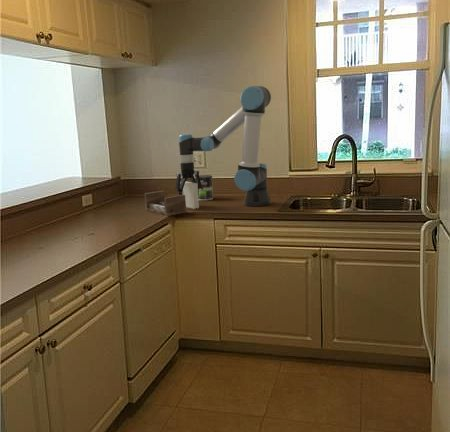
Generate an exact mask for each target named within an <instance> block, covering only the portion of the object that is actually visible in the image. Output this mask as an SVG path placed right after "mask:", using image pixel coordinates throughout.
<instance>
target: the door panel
mask: <svg viewBox="0 0 450 432" xmlns="http://www.w3.org/2000/svg"><path fill="white" fill-rule="evenodd" d="M180 184H181V182H180ZM182 192H184V195H185V199H186V208H189V209H193V210H195V209H196V208H197V209H200V204H199V201H200V200H198V184H197V183H192V181H186V182H185V185H184V188H183V191H182Z"/></svg>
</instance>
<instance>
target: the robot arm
mask: <svg viewBox="0 0 450 432" xmlns="http://www.w3.org/2000/svg"><path fill="white" fill-rule="evenodd" d="M239 100H240V105H242V106H241V107H240V108H238V109H237V110H236V111H235V112H234V113H233V114H232V115H230V117H228V118H227V119H226V120H225V121H224V122H223V123H222V124H220V125H219V126H218V127H217V128H216V129H215V130H214V131H213V132H211V134H209V135H207V136H203V137H193V134H191V133H183V134H180V135H178V145H179V148H178V149H179V160H180V172H177V173H176V174H175V175H176V182H175V191H177V192H178V195H184V192H182V191H183V188H184V185H185V182H187V181H188V179H190V182H192V183H196V182H197V184H198V195H199V189H200V188H201V187H202V186H201V182H200V178H199V176H200V171H199V170H195V162H194V161H195V160H194V152H211V151H213V150H215V149H217V148H219V147H220V146H221V144H222V143H223V142H224V141H225V140H226V139H227V138H228V137H230V136H231V135H232V134H233V133H234V132H235V131H237V130H239V128H241V126H243V133H242V134H243V135H242V136H243V137H242V148H241V160H240V162H239V163H238V164H237V172H235V175H234V180H233V181H234V184H235V186H236V187H237V188H238V189H239V190H240V191H244V192H245V191H246V193H245V196H244V199H243V206H245V207H264V206H269V205H271V204H272V202H271V201H272V200H271V199H272V198H271V197H270V193H269V191H268V172H267V171H268V168H267V165H266V163H259V162H258V161H259V160H258V159H259V148H260V139H261V138H260V137H261V124H262V117H263V116H264V115H265V112H266V108H267V107H268V106H269V105H270V103H271V100H272V94H271V92H270V91H269V89H268V88H267V87H265V86H263V85H262V86H261V85H259V86H258V85H250V86H248V87H246V88H245V89H243V90H242V92H241V94H240V98H239ZM243 124H244V125H243ZM180 182H181V184H180Z"/></svg>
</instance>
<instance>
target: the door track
mask: <svg viewBox="0 0 450 432" xmlns="http://www.w3.org/2000/svg"><path fill="white" fill-rule="evenodd" d="M143 195H144V196H143V197H144V208H145V211H148V212H151V213H155V214H158V215H162V216H164V217H169V216H175V215H180V214H186V213H187V207H186V199H185V195H179V194H178V195H173V196H167V197H166V192H165V190H159V191H157V190H156V191H152V192H145V193H143Z"/></svg>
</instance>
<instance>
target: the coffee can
mask: <svg viewBox="0 0 450 432" xmlns="http://www.w3.org/2000/svg"><path fill="white" fill-rule="evenodd" d="M199 178H200V182H201V186H202V187H201V188H200V189H199V195H198V201H211V200H213V199H214V195H213V193H214V190H213V189H214V187H213V186H214V185H213V176H212V175H209V174H205V175H203V174H201V175H200V174H199ZM196 183H197V182H196Z"/></svg>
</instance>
